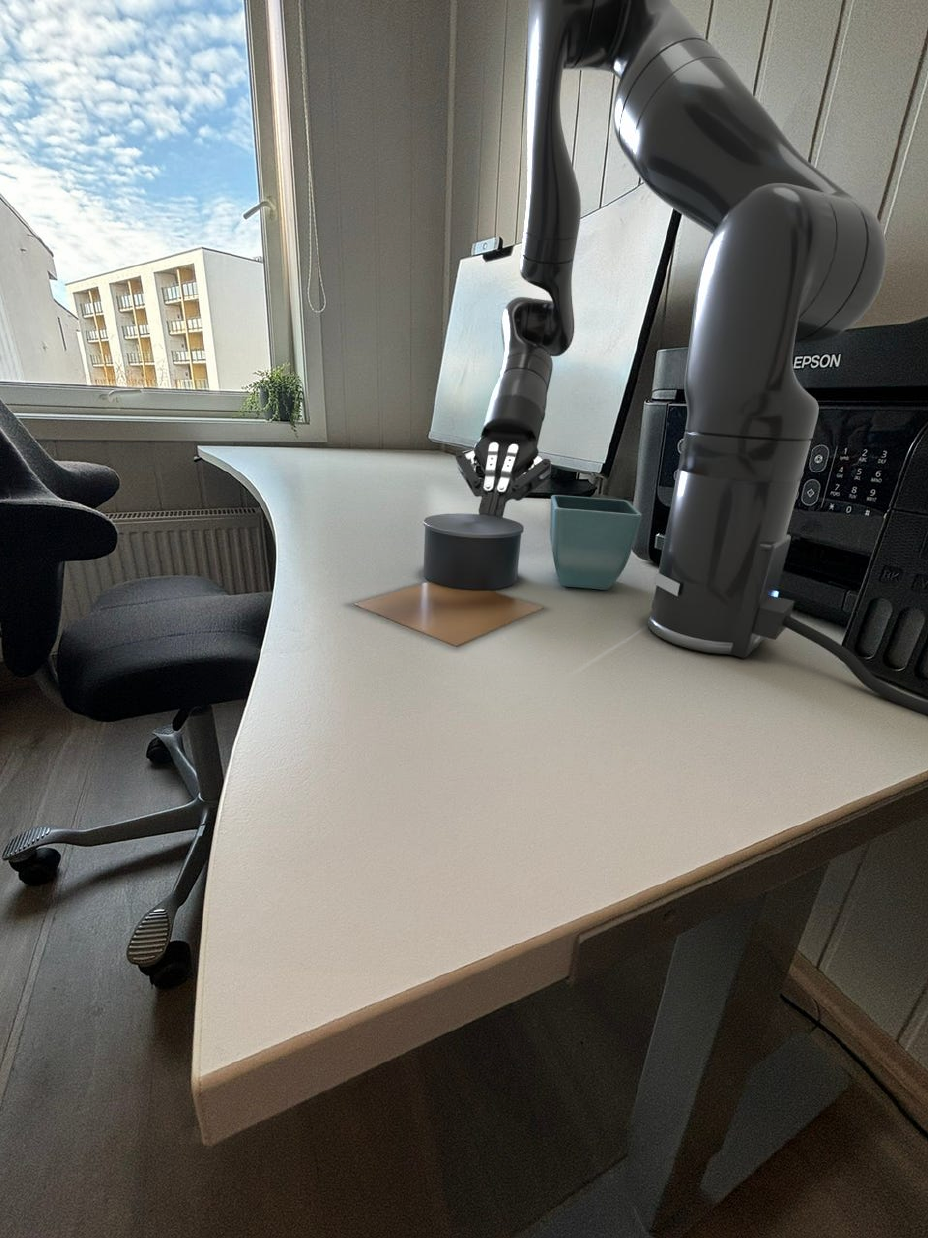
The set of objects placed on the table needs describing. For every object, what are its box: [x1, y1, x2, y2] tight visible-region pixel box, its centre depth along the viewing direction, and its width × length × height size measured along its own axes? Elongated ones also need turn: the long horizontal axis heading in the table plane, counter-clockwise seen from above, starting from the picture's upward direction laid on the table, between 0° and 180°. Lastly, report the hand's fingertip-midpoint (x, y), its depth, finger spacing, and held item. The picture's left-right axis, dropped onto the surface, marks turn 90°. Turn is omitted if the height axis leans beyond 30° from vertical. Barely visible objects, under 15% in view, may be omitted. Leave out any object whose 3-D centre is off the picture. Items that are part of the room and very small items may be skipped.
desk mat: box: [353, 580, 544, 648], centre depth 55 cm, size 13×13×1 cm
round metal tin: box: [422, 512, 525, 591], centre depth 63 cm, size 11×11×6 cm
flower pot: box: [549, 494, 643, 591], centre depth 62 cm, size 9×9×9 cm
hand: (488, 522), depth 69 cm, fingers closed
